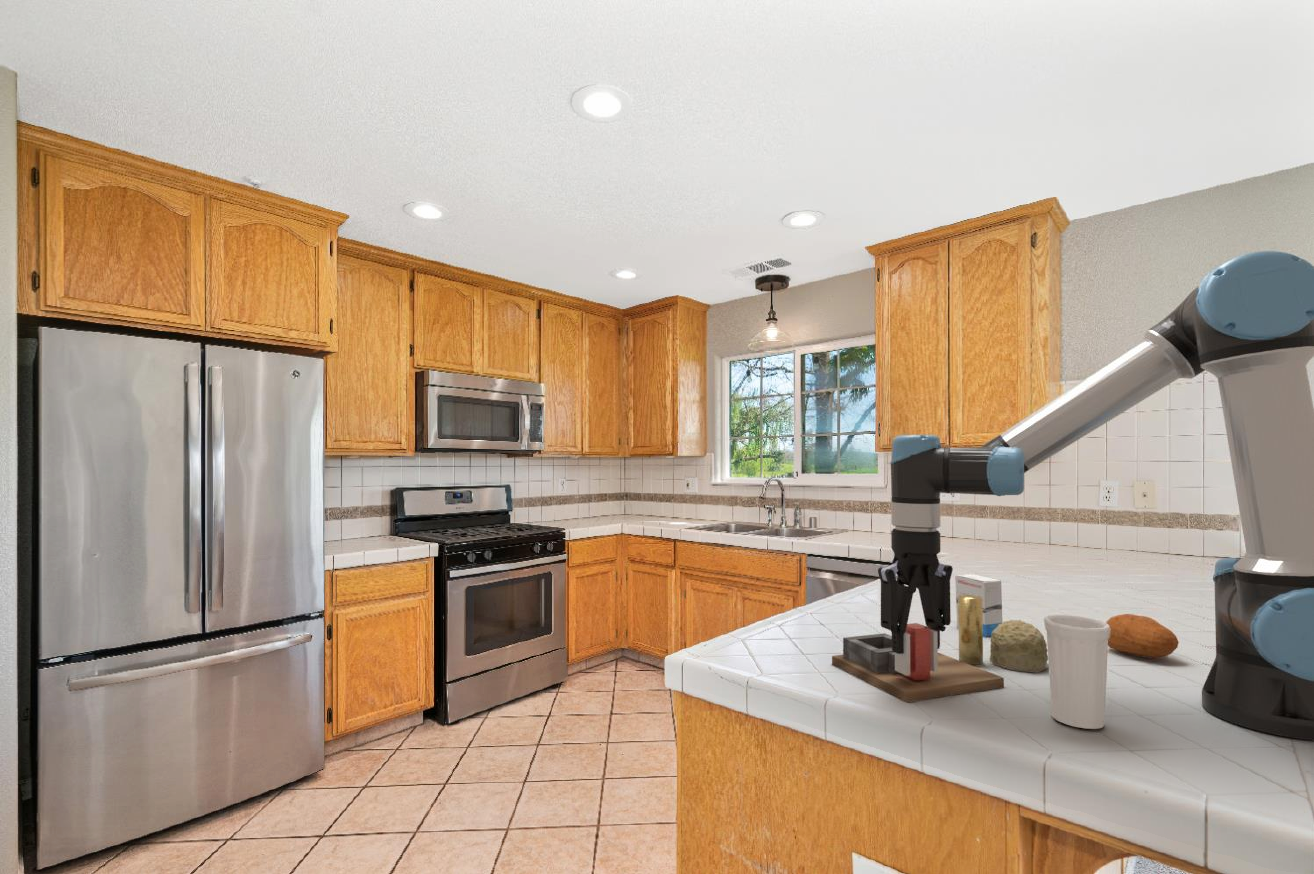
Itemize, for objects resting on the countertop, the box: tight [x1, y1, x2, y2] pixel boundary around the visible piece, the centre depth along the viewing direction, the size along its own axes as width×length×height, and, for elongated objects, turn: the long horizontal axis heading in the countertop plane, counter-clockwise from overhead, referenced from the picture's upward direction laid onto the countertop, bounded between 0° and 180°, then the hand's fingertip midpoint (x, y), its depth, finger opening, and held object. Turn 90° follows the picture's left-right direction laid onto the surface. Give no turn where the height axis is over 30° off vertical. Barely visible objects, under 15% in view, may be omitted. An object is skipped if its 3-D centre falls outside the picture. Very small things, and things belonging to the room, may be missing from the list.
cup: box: [1043, 614, 1111, 730], centre depth 91 cm, size 8×8×14 cm
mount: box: [831, 632, 1005, 703], centre depth 110 cm, size 19×20×5 cm
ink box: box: [955, 573, 1004, 638], centre depth 139 cm, size 9×5×12 cm, turn 17°
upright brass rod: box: [958, 595, 984, 667], centre depth 118 cm, size 4×4×12 cm
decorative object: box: [989, 619, 1049, 673], centre depth 117 cm, size 9×10×10 cm
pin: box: [902, 622, 930, 681], centre depth 108 cm, size 10×3×8 cm, turn 20°
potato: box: [1105, 613, 1180, 659], centre depth 122 cm, size 9×11×8 cm
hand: (916, 670), depth 104 cm, fingers open, 5 cm apart
